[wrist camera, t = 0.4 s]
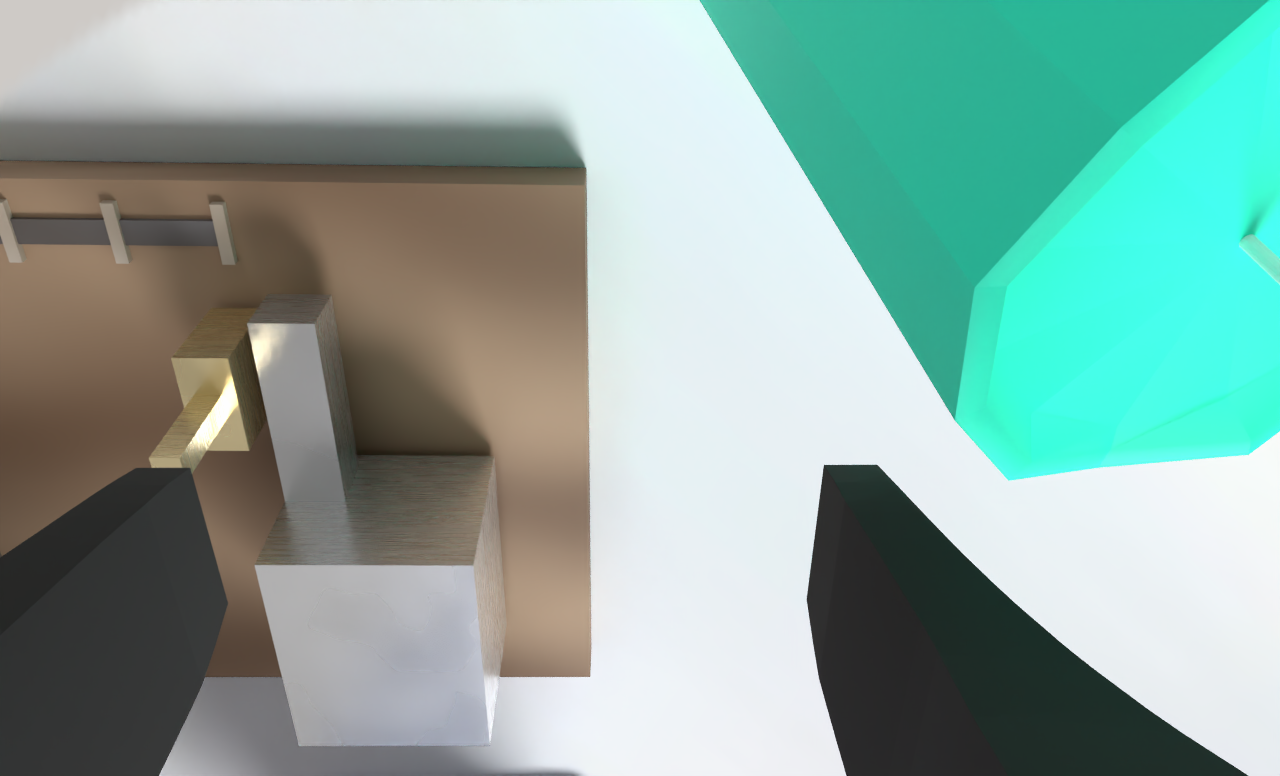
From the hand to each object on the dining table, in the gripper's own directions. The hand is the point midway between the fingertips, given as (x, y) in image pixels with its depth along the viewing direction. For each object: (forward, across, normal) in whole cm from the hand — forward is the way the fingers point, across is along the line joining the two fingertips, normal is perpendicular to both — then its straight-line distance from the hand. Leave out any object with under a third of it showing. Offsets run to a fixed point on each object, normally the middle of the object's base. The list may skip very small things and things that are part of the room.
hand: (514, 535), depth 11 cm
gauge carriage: (+8, +3, +5) cm, 11 cm away
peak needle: (+9, +6, +2) cm, 11 cm away
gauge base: (+10, +7, +5) cm, 13 cm away
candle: (+9, -5, -7) cm, 12 cm away
